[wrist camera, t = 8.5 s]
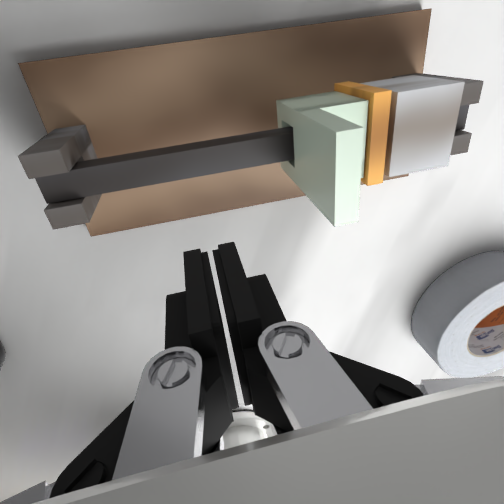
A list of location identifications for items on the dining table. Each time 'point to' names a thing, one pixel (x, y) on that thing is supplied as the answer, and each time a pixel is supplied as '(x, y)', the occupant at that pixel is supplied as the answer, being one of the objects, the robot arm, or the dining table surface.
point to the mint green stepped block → (327, 150)
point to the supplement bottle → (2, 355)
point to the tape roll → (464, 317)
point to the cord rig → (230, 118)
